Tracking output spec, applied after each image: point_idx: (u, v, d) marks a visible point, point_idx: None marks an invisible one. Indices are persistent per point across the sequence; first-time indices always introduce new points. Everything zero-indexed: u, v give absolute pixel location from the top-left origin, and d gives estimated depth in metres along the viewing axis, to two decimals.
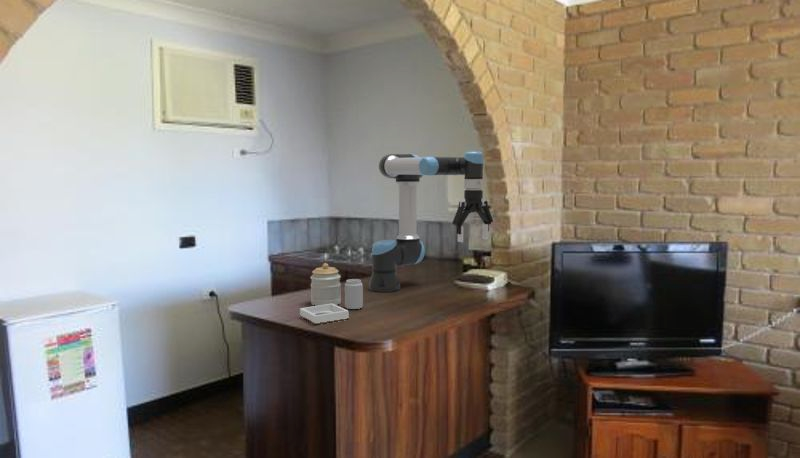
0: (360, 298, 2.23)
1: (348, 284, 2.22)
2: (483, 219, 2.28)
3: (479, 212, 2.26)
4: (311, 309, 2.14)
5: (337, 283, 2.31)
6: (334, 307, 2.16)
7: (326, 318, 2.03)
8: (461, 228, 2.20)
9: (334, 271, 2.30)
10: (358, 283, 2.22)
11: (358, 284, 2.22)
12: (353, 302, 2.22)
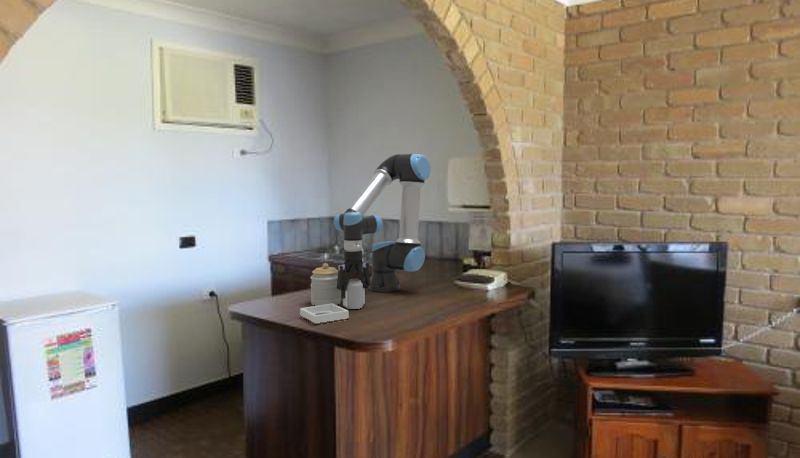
0: (360, 298, 2.23)
1: (348, 284, 2.22)
2: None
3: (358, 273, 2.25)
4: (311, 309, 2.14)
5: None
6: (334, 307, 2.16)
7: (326, 318, 2.03)
8: (345, 293, 2.22)
9: (334, 271, 2.30)
10: (358, 283, 2.22)
11: (358, 284, 2.22)
12: (353, 302, 2.22)
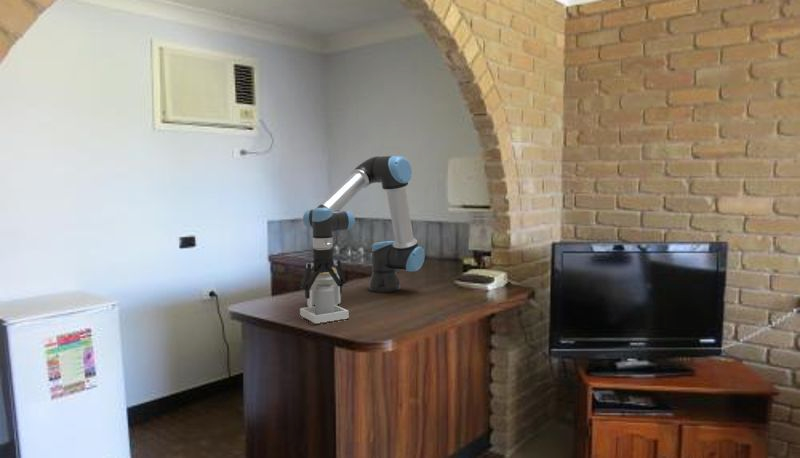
0: (331, 304, 2.08)
1: (318, 289, 2.07)
2: (335, 280, 2.12)
3: (330, 272, 2.10)
4: (311, 309, 2.14)
5: None
6: (334, 307, 2.16)
7: (326, 318, 2.03)
8: (309, 292, 2.05)
9: (334, 271, 2.30)
10: (329, 288, 2.07)
11: (329, 289, 2.07)
12: (323, 309, 2.07)
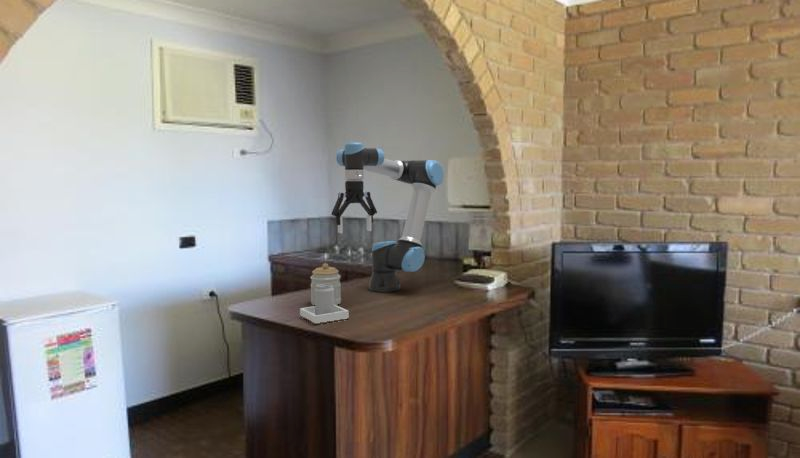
0: (331, 304, 2.08)
1: (318, 289, 2.07)
2: (366, 210, 2.27)
3: (361, 203, 2.25)
4: (311, 309, 2.14)
5: (337, 283, 2.31)
6: (334, 307, 2.16)
7: (326, 318, 2.03)
8: (340, 219, 2.20)
9: (334, 271, 2.30)
10: (329, 288, 2.07)
11: (329, 289, 2.07)
12: (323, 309, 2.07)
